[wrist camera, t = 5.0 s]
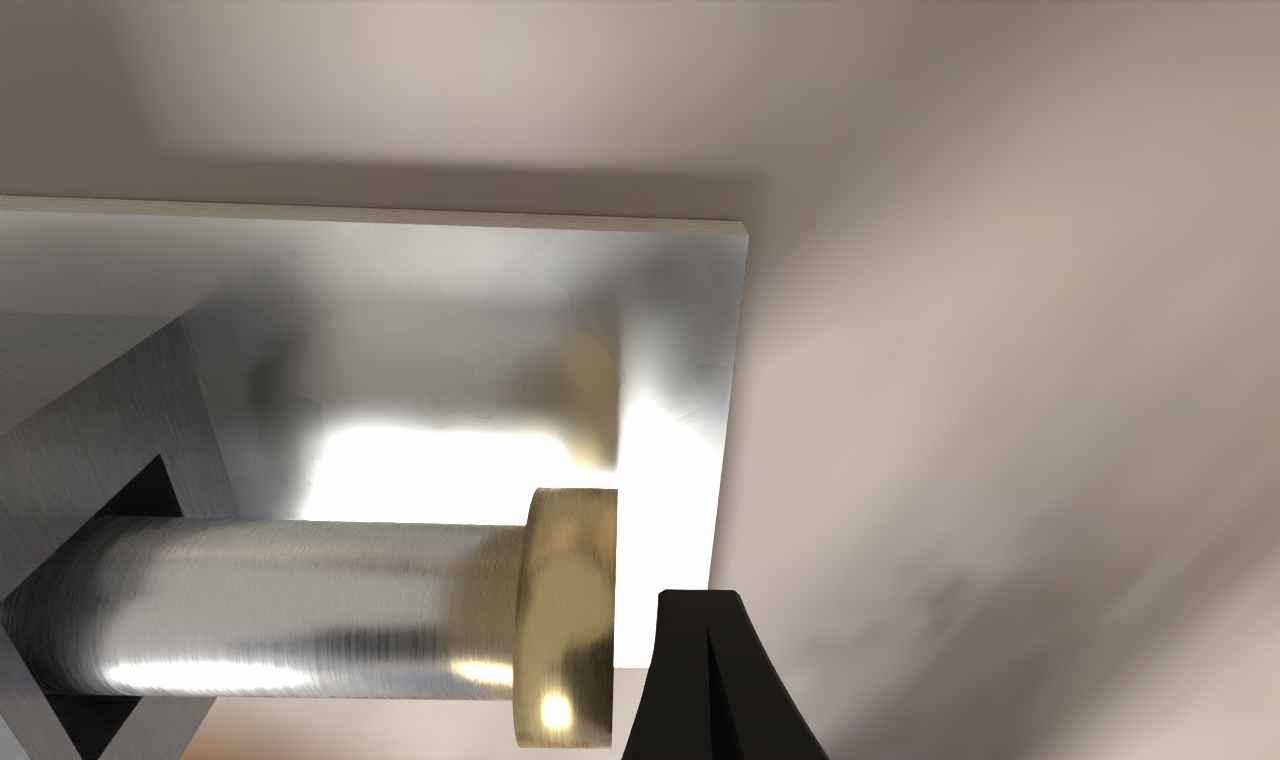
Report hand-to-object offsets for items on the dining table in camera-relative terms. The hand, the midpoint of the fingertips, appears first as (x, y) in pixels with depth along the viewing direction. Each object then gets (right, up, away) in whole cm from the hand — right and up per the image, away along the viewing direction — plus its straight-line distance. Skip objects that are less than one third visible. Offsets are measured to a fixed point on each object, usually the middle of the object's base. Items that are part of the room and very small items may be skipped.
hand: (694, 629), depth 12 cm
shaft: (-9, +1, +2) cm, 9 cm away
